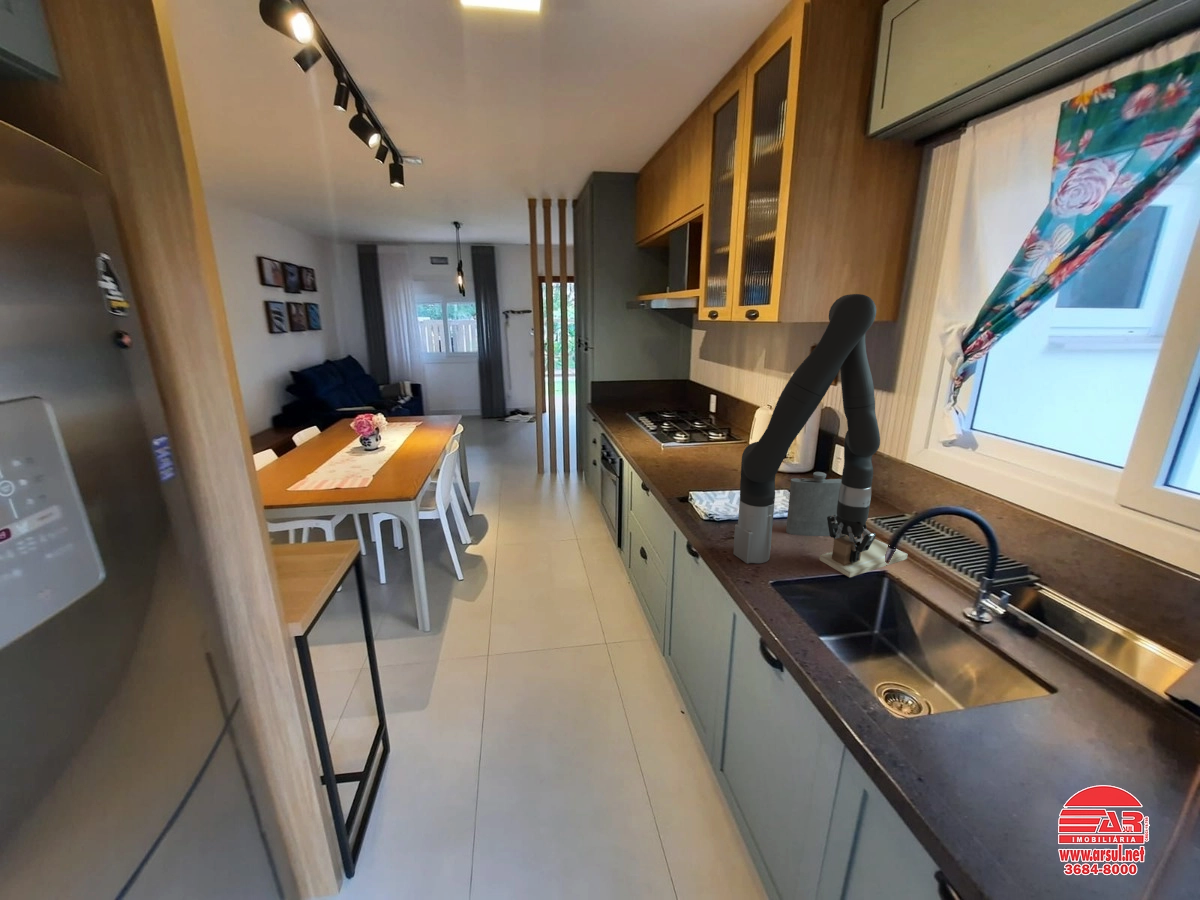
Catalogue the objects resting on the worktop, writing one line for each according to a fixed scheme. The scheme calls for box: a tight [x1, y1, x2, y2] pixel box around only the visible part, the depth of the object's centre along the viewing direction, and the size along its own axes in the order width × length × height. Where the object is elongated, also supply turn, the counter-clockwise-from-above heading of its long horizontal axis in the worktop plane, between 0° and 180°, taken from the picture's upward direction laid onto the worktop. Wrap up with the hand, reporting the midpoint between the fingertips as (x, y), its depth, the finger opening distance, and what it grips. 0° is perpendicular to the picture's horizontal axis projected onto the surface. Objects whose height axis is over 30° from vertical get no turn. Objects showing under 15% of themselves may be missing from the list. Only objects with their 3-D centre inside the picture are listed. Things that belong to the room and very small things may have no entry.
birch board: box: [819, 538, 908, 578], centre depth 136 cm, size 22×10×2 cm, turn 113°
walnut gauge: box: [832, 535, 861, 565], centre depth 132 cm, size 6×4×6 cm, turn 113°
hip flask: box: [785, 471, 842, 537], centre depth 149 cm, size 16×4×20 cm, turn 84°
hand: (846, 557), depth 133 cm, fingers closed on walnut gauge, 4 cm apart
